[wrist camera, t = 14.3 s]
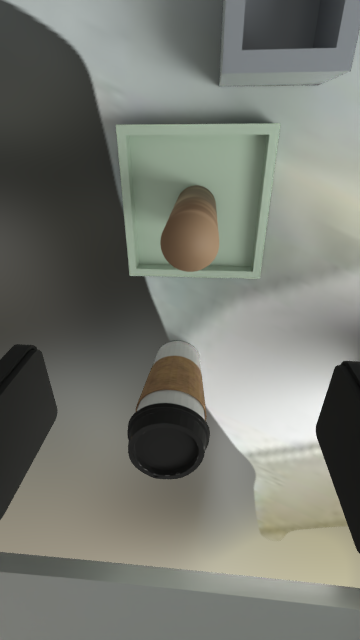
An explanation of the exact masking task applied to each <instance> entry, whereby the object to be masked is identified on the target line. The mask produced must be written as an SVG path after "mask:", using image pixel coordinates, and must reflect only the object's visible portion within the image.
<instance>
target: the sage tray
mask: <svg viewBox="0 0 360 640" xmlns="http://www.w3.org/2000/svg"><path fill="white" fill-rule="evenodd" d="M280 125H281V123H268V124H141V125H116V134H117V145H118V156H119V167H120V177H121V188H122V199H123V209H124V220H125V231H126V242H127V252H128V263H129V274H130V276H162V277H203V278H243V279H260V274H261V266H262V259H263V251H264V244H265V236H266V229H267V222H268V214H269V207H270V199H271V192H272V184H273V177H274V169H275V162H276V155H277V147H278V140H279V132H280ZM194 185H199V186H203V187H205V188H207V189H208V190H209V191H210V192H211V193H212V194H213V196H214V198H215V201H216V210H217V221H218V232H219V250H218V253H217V256H216V257H215V259H214V260H213V262H212V263H211V264H210V265H208V266H207V267H205V268H204V269H201V270H199V271H194V272H186V271H182V270H179V269H177V268H175V267H173V266H172V265H171V264H169V263H168V261H167V260H166V259H165V257H164V255H163V253H162V250H161V245H160V240H161V235H162V232H163V230H164V227H165V225H166V223H167V221H168V219H169V216H170V214H171V212H172V210H173V208H174V205H175V203H176V201H177V199H178V197H179V195H180V193H181V192H182V191H183V190H184V189H186V188H187V187H190V186H194Z"/></svg>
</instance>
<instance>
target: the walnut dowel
mask: <svg viewBox="0 0 360 640" xmlns="http://www.w3.org/2000/svg"><path fill="white" fill-rule="evenodd" d="M160 245H161V250H162V253H163V255H164V257H165V259H166V260H167V261H168V263H169V264H171V265H172V266H173V267H175V268H177V269H179V270H182V271H186V272H194V271H199V270H201V269H204V268H205V267H207V266H208V265H210V264H211V263H212V262H213V260H214V259H215V257H216V256H217V253H218V250H219V232H218V221H217V210H216V201H215V198H214V196H213V194H212V193H211V192H210V191H209V190H208V189H207V188H205V187H203V186H199V185H194V186H190V187H187V188H186V189H184V190H183V191H182V192H181V193H180V195H179V197H178V199H177V201H176V203H175V205H174V208H173V210H172V212H171V214H170V216H169V219H168V221H167V223H166V225H165V227H164V230H163V232H162V235H161V240H160Z"/></svg>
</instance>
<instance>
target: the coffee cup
mask: <svg viewBox="0 0 360 640" xmlns="http://www.w3.org/2000/svg"><path fill="white" fill-rule="evenodd" d="M209 436H210V431H209V427H208V425H207V422H206V408H205V400H204V391H203V383H202V375H201V366H200V357H199V354H198V351H197V350H196V349H195V348H194V347H193V346H192V345H190V344H188V343H186V342H183V341H171V342H168V343H166V344H164V345H163V346H161V348H160V349H159V350H158V352H157V355H156V358H155V360H154V363H153V366H152V368H151V371H150V373H149V376H148V378H147V381H146V383H145V386H144V388H143V391H142V394H141V396H140V398H139V401H138V404H137V407H136V413H134V415H133V416H132V417H131V419H130V421H129V425H128V439H129V445H128V453H129V457H130V460H131V462H132V463H133V465H134V466H135V467H136V468H138V469H139V470H140V471H141V472H143V473H145V474H147V475H149V476H151V477H153V478H158V479H177V478H181V477H184V476H186V475H188V474H190V473H191V472H193V471H194V470H195V469H196V468H197V467H198V466H199V465H200V463H201V462H202V460H203V457H204V453H205V450H206V448H207V445H208V442H209Z"/></svg>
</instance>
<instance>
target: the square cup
mask: <svg viewBox="0 0 360 640" xmlns="http://www.w3.org/2000/svg"><path fill="white" fill-rule="evenodd" d="M359 29H360V0H223V12H222V33H221V55H220V76H219V87H224V86H287V85H320V84H322V83H324V82H327V81H329V80H331V79H333V78H336V77H338V76H340V75H343V74H345V73H347V72H350V71H351V67H352V62H353V57H354V53H355V48H356V43H357V39H358V34H359Z"/></svg>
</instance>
